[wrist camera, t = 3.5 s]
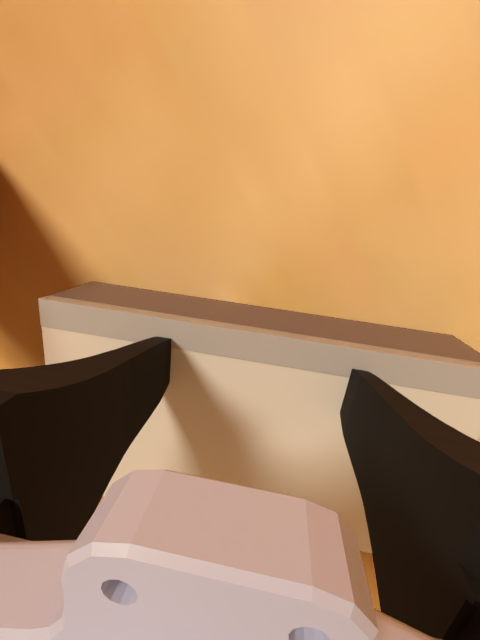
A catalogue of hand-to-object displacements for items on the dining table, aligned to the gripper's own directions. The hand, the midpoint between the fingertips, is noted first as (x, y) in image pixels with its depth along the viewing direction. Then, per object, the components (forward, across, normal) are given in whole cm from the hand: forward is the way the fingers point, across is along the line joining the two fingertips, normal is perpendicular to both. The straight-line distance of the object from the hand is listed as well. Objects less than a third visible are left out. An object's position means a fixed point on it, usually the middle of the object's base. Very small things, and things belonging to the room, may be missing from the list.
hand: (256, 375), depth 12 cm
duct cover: (0, 0, +3) cm, 3 cm away
